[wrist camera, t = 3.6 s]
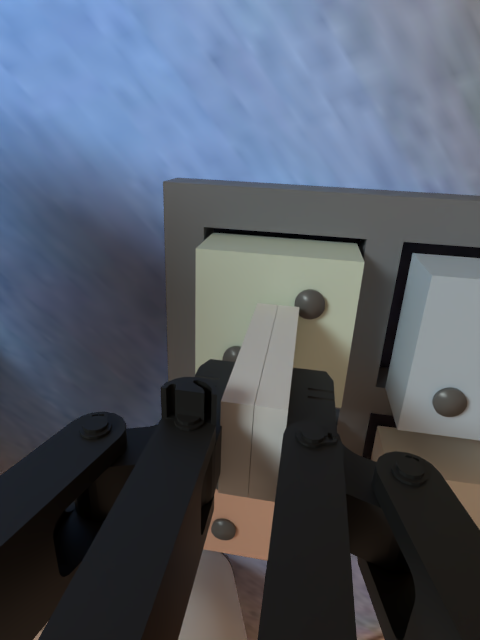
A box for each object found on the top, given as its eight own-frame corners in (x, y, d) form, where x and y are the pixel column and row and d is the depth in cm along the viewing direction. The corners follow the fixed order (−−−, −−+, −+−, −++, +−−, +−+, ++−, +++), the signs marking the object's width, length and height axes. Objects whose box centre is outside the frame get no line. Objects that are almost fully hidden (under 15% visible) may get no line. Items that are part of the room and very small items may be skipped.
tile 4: (204, 498, 23) (188, 550, 20) (205, 403, 21) (187, 446, 18) (318, 516, 22) (318, 573, 19) (332, 419, 20) (336, 467, 17)
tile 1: (357, 522, 22) (364, 581, 19) (377, 425, 20) (388, 475, 17) (482, 542, 21) (509, 606, 18) (518, 443, 19) (556, 499, 16)
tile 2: (211, 357, 21) (194, 392, 18) (213, 232, 18) (194, 249, 16) (337, 371, 20) (341, 410, 17) (356, 243, 18) (365, 263, 15)
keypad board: (181, 487, 26) (171, 513, 24) (177, 177, 19) (163, 181, 17) (495, 536, 24) (510, 568, 22) (620, 204, 17) (657, 211, 15)
